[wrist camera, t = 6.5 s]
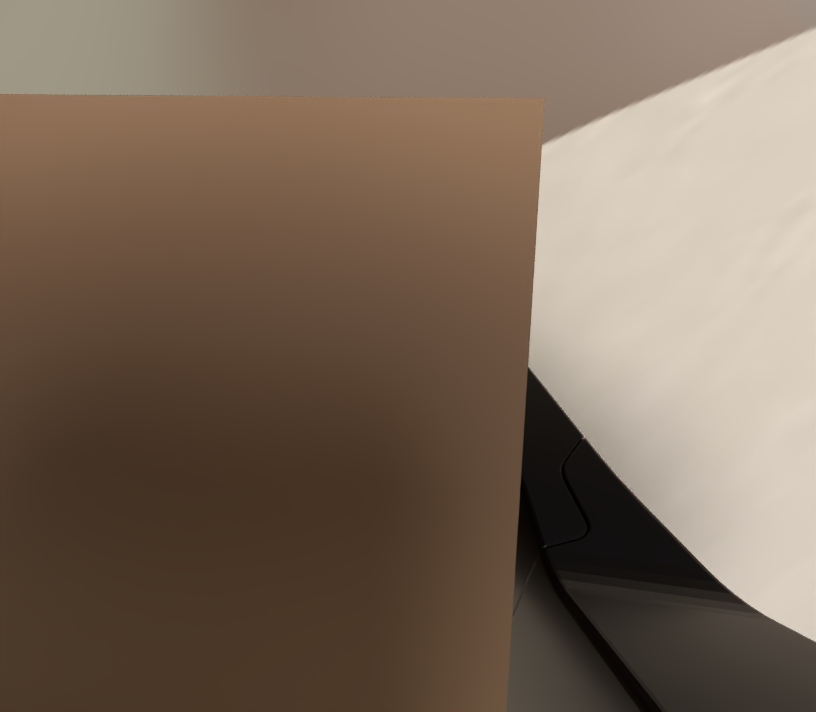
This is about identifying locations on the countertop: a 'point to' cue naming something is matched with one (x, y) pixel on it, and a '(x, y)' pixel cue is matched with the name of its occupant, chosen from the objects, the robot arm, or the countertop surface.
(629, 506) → the robot arm
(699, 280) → the countertop surface
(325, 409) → the walnut pillar
